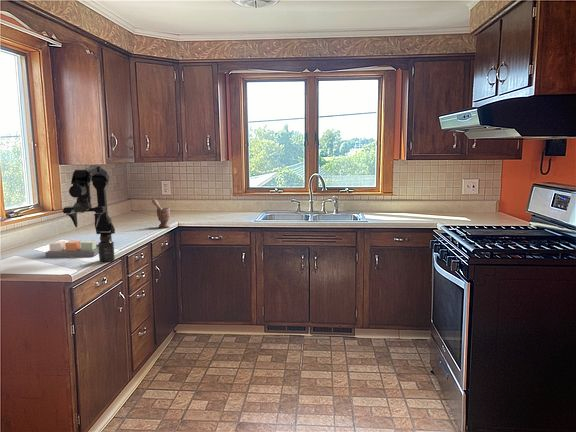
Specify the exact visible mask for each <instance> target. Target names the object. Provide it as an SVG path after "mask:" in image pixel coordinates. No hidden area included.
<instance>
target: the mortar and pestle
mask: <svg viewBox="0 0 576 432" xmlns="http://www.w3.org/2000/svg"><path fill="white" fill-rule="evenodd" d="M151 202H152V204H153V205H154V206H155V207H156V216H157V219H158V221H159V222H160V224H158V228H159V229H168V228H170V227H171V225H170V224H169V223H168V222H169V220H170V217H171V208H170V207H161V205H160V204H159V202H158V200H157V199H155V198H153V199H152V200H151Z"/></svg>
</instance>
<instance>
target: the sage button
mask: <svg viewBox="0 0 576 432" xmlns="http://www.w3.org/2000/svg"><path fill="white" fill-rule="evenodd" d="M96 247H97V241H96V240H84V241H82V242H81V251H93V250H94V249H96Z"/></svg>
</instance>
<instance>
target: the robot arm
mask: <svg viewBox="0 0 576 432" xmlns="http://www.w3.org/2000/svg"><path fill="white" fill-rule="evenodd" d="M91 182H92V186H93V187H94V189H95V190H96V201H97V206H95V207H93V205H92V197H91ZM109 182H110V175H109V174H108V172H107V171H106V170H105V169H104V168H102V167H101V165H95V164H94V165H89V166H88V167H86V168H84V169H75V170H74V171H73V173H72V177H71V181H70V185H72V186H70V187H69V188H68V189H69V190H68V193H69V195H70V197H72V198H76V202H75V203H74V204H73V205H72V206H71V205H70V206H65V207H63V208H62V214H66V216H68V217H69V218H70V219H71V221H72V224H73V225H74V227H75V228H78V213H86V212H87V213H88V212H94V213H93V215H94V228H95V232H96V235H100V236H103V235H110V236H111V241H113V240H112V237H113V236H112V235H113V234H115V233H116V228H115V226H114V224H113V223H112V222H113V221H112V218H111V217H110V216H109V214H108V213H109V212H108V211H109V210H108V201H107V200H108V199H107V188H108V186H109ZM100 236H99V237H100ZM113 243H114V244H115V242H114V241H113Z"/></svg>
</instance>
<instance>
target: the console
mask: <svg viewBox="0 0 576 432" xmlns="http://www.w3.org/2000/svg"><path fill="white" fill-rule="evenodd" d="M44 254H45V255H44V257H45V258H51V259H52V258H83V257H84V258H86V257H87V258H90V257H92V258H93V257H96V256H97V255H99V249H98V247H97V246H96V249H94V250H93V251H81V249H80V250H78V251H66V249H65V250H63V251H52V252H50V249H48V251H46V252H44Z"/></svg>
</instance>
